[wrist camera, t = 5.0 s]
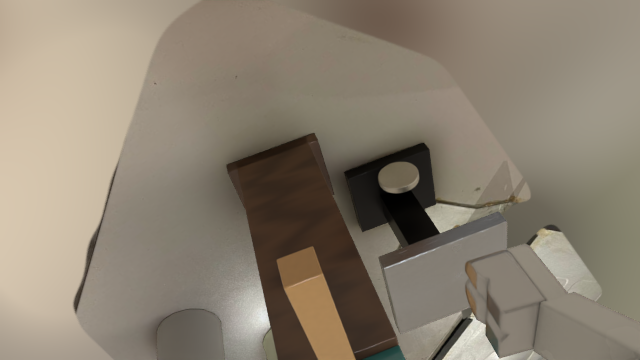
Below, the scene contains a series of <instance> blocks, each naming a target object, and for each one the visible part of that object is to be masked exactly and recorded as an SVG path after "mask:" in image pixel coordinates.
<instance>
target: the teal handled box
mask: <svg viewBox="0 0 640 360" xmlns="http://www.w3.org/2000/svg"><path fill="white" fill-rule="evenodd" d="M277 265H278V269H279V272H280V276H281V280H282V284H283V288H284V290H285V292H286V294H287V296H288V299H289V301H290V303H291V305H292V307H293V309H294V311H295V313H296V315H297V317H298V319H299V321H300V324H301V326H302V328H303V330H304V332H305V334H306V336H307V338H308V340H309V342H310V344H311V346H312V349H313V351H314V353H315V355H316V357H317V359H318V360H356V357H355V354H354V352H353V349H352V347H351V344H350V341H349V339H348V336H347V333H346V331H345V328H344V326H343V323H342V320H341V318H340V315H339V312H338V310H337V307H336V305H335V302H334V299H333V297H332V294H331V291H330V289H329V286H328V284H327V281H326V278H325V276H324V273H323V270H322V268H321V265H320V263H319V260H318V257H317V255H316V252H315V249H314V247H313V246H311V247H308V248H306V249H303V250H300V251H298V252H295V253H292V254H290V255H287V256H284V257H282V258H279V259H277ZM361 360H405V357H404V355H403V353H402V351H401V348H400V346H399V345H397V346H395V347H392V348H390V349H387V350H385V351H382V352H379V353H377V354H374V355H372V356H369V357H367V358H364V359H361Z"/></svg>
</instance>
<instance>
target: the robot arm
mask: <svg viewBox="0 0 640 360" xmlns="http://www.w3.org/2000/svg"><path fill="white" fill-rule="evenodd" d="M465 272H466V274H467V276H468V277H469V279H468V280H467V281H466V283H465V292H466V296H467V300H468V303H469V305H470V308H471V310H472V312H473V314H474V315H475V317H476V319H477V320H478V321H480V322H482V323H484V324H486V336H487V338H488V340H489V342H490V343H491V345H492V347H493V348H494V350H495V352H496V353H497V355H498V357H499V358H502V357H506V356H510V355H513V354H517V353H520V352H524V351H527V350H531V349H534V350H533V351H535V352H536V353H538V354H539V355H541V356H542V357H544V358H545V359H547V360H640V322H638V321H636V320H634V319H632V318H629V317H627V316H625V315H623V314H621V313H619V312H616V311H614V310H612V309H610V308H608V307H606V306H603V305H601V304H599V303H597V302H595V301H593V300H590V299H588V298H586V297H584V296H582V295H580V294H578V293H575V292H573V293H569V294H568V292H567V291H566V290H565V289H564V288H563V286H562V285H561V284H560V283H559V281H558V280H557V279H556V278H555V276H554V275H553V274H552V273H551V272H550V270H549V269H548V268H547V267H546V265H545V264H544V263H543V262H542V260H541V259H540V258H539V257H538V256H537V254H536V253H535V252H534V251H533V249H532V248H531V247H530V246H529V245H527V244H522V245H519V246H515V247H512V248H509V249H506V250H501V251H497V252H494V253H491V254H488V255H485V256H482V257H479V258H475V259H472V260H469V261H467V262H466V264H465Z"/></svg>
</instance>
